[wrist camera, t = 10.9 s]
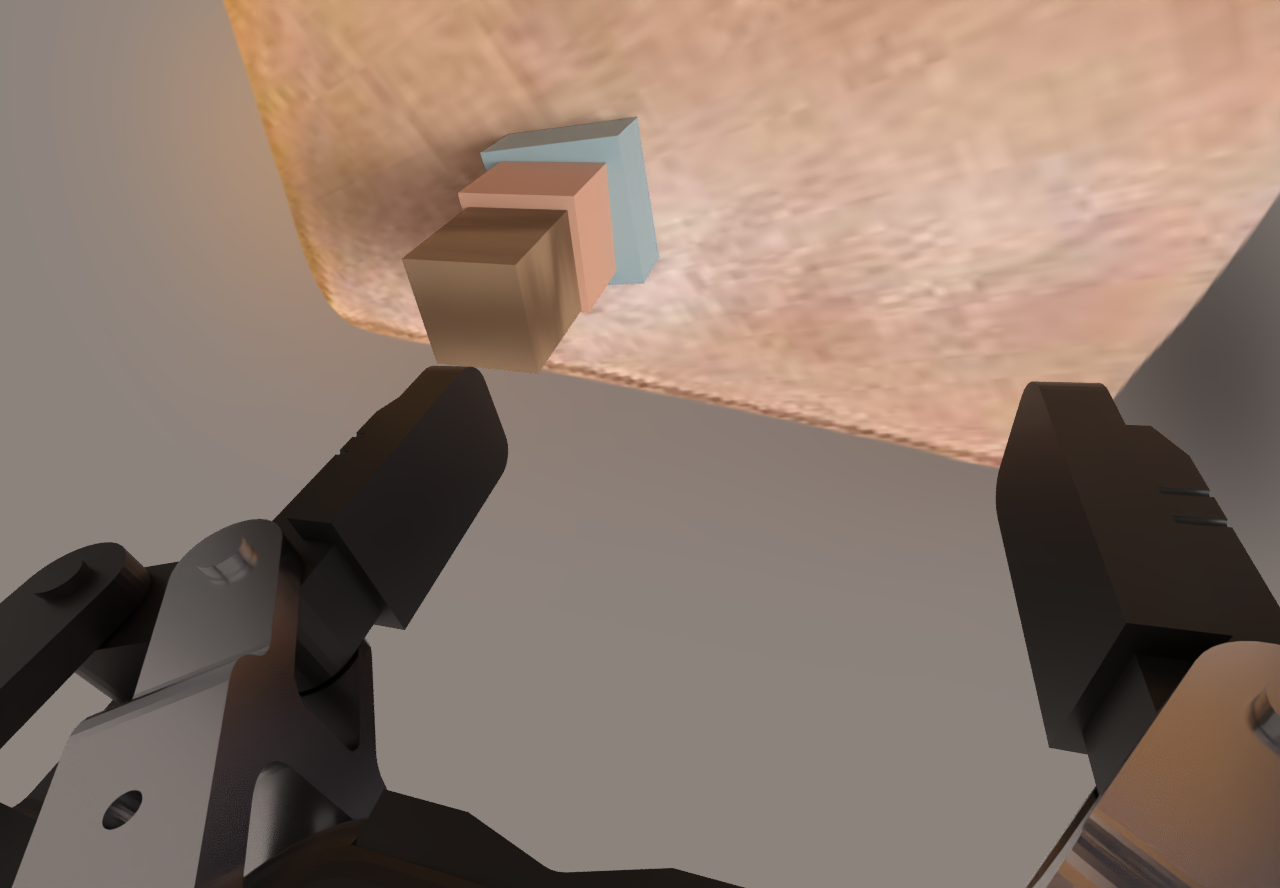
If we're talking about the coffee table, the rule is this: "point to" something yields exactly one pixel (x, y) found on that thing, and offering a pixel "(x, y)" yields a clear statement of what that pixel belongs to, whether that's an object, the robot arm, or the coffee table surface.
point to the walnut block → (497, 287)
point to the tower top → (558, 190)
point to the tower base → (625, 181)
